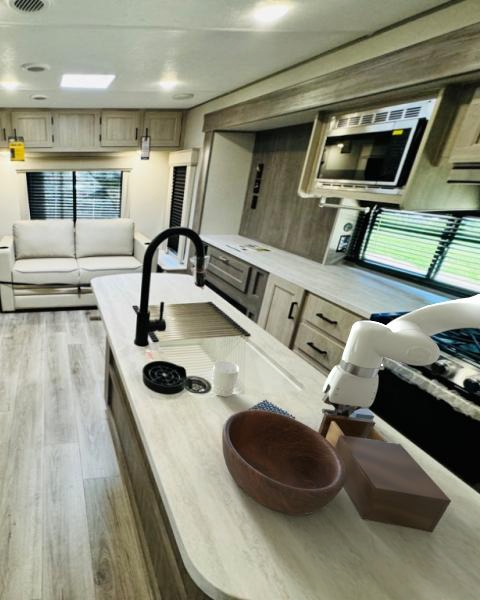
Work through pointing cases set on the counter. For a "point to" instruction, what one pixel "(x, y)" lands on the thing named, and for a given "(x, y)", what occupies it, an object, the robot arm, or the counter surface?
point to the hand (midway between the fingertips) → (338, 421)
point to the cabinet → (390, 484)
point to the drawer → (347, 427)
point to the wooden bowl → (281, 461)
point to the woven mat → (270, 408)
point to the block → (362, 414)
